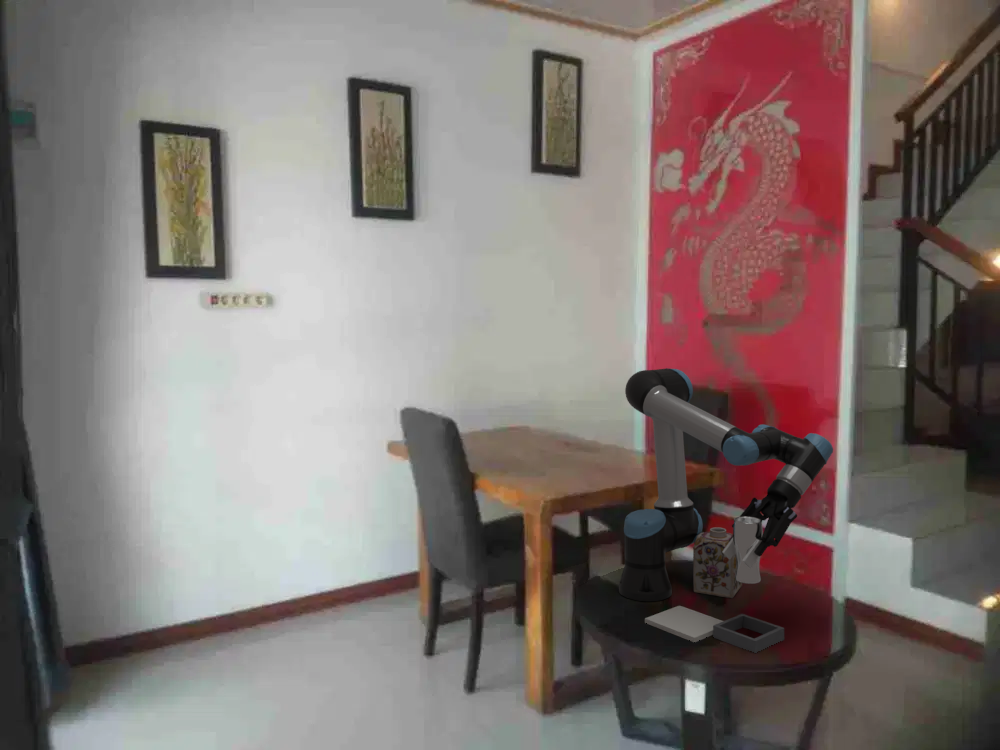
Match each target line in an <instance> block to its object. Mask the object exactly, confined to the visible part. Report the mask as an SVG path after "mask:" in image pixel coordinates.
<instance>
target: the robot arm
mask: <svg viewBox="0 0 1000 750" xmlns="http://www.w3.org/2000/svg"><path fill="white" fill-rule="evenodd" d="M624 390H625V391H624V392H625V399H626V400H627V402H628V403H629V404H630V406H631V407H632V408H633V409H635V410H636V411H638V412H639V413H641V414H642V415H645V416H647V417H648V418H650V419H652V426H653V438H654V453H655V467H656V481H657V482H656V483H657V494H658V496H657V498H658V499H657V500H656V501H655V502H654V503H653V508H645V509H637V510H635V511H631V512H629V514H627V515H626V517H625V518H624V527H623V533H624V534H623V538H624V539H623V540H624V543H623V544H624V567H623V570H622V573H621V576H620V580H619V582H618V592H619V594H620V596H622V597H624V598H625V599H626V598H627V599H631V600H634V601H640V602H658V601H663V600H667V599H669V598H670V597H671V596H672V592H673V591H672V590H673V589H672V588H673V586H672V583H671V581H670V579H669V575H668V571H667V568H666V553H669V552H672V551H675V550H678V549H683V548H688V547H689V546H691V545H694V543H695V541H696V538H697V536H698V535H699V534H700V533H703V526H704V525H703V519H702V516H701V514H700V513H699V512H698V510H697V509H696V508H695V507H694V502H693V501H692V500H691V499H690V498H689V496H688V486H687V485H688V483H687V472H686V459H685V458H686V457H685V446H684V445H685V443H684V433H686V434H687V435H690V436H691V437H693V438H695V439H696V440H698V441H701V442H702V443H704V444H706V445H708V446H710V447H712V448H714V449H715V450H717V451H719V452H721V453H722V455H723V457H724V458H725V459H726V461H727V462H728V463H729V464H731V465H733V466H736V467H737V466H749V465H753V464H756V463H759V462H764V461H769V460H776V461H779V462H781V463H783V464H785V465H784V466H783V467H782V468H781V470H780V471H779V472H778V474H777V475H776V478H775V479H773V481H772V482H771V483H770V485H769V486H768V487H767V491H766V492H767V493H766V494H767V495H765V496H764V497H763V498H762V499H758V498H757V497H752V499H751V500H750V503H749V505H748V506H747V507H746V508H745V510H743V512H742V513H741V514H740V515H739V517H741V516H748V517H756V518H759V519H761V520H762V521H766V520H767V522H766V524H765V527H764V530H763V535H762V537H759V538H760V539H761V541H760V540H757V541H756V543H755V544H754V545H753V546H752V548H751V549H750V550H749V552H748V553H747V554H746V556H745V557H744V559H743V560H742V561H743V562H744V563H745V564H746V565H747V566H748V567H749V568H751V567H752V565H753V564H754V563H755V561H756V560H757V559H758V557H759V556H760V557H761V556H763V554H764V553H765V551H766V550H767V548H770V547H775V548H776V547H778V545H779V544H780V542H781V540H782V539H783V537H784V535H785V534H786V533H787V530H788V529H789V527H790V525H791V524H792V522H794V520H795V519H796V518H797V517H798V515H797V513H796V512H795V511H794V510H793V508H795V507H796V506H797V504H798V502H799V501H800V500H801V498H802V496H803V495H804V494H805V493H806V491H807V490H808V489H809V488H810V485H811V484H812V483H813V481H814V480H815V479H816V477H817V476H818V475H819V473H820V472H821V470H822V469H824V466H825V465H827V463H828V461H829V459H830V457H831V456H832V454H833V452H834V447H833V445H832V444H831V442H830V441H829V440H828V439H827V438H826V437H824V436H823V435H820V434H818V433H813V432H811V433H808V434H807V435H805V436H804V437H803V438H801V437H798V436H795V435H793V434H790V433H789V432H785V431H783V430H781V429H778V428H777V427H775V426H772V425H771V426H770V425H768V424H759V425H758V426H757V427H755V428H754V429H753V430H752V432H750V433H749V432H747V431H745V430H744V429H741V428H738V426H735V425H733V424H731V423H729V422H728V421H725V420H723V419H722V418H720V417H717V416H715V415H713V414H711V413H710V412H707V411H705V410H703V409H701V408H699V407H698V406H695V405H693V404H691V403H690V402H691V399H692V398H693V393H694V387H693V383H692V381H691V379H690V378H689V376H688V375H687V374H686V373H685V372H684V371H682V370H681V369H677V368H669V367H668V368H667V367H666V368H658V369H645V370H640V371H637V372H635V373H634V374H632V375H631V376H630V377H629V379H628V380H627V382H626V385H625V389H624ZM731 527H732V528H733V527H734V523H733V524H732V525H731ZM722 553H723V554H724V555H725V556H726V557H727V558H728V559H731V558H732V556H733V555H734V553H735V550H734V543H733V536H732V537H731V538H730V540H729V543H728V545H727V546H726V547H725V549H724V550H723V551H722Z"/></svg>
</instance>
